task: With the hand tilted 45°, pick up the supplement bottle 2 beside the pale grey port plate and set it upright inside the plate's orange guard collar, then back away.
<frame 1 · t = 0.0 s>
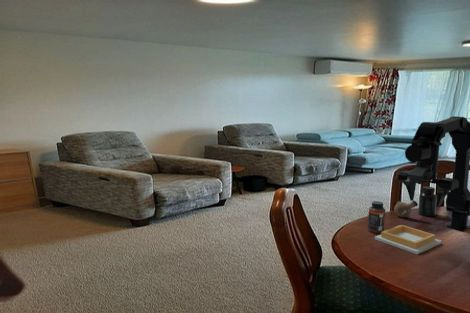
hand: (424, 203, 133), 15 cm above the table, tool pointing down, fingers open, 9 cm apart
supplement bottle: (426, 214, 168), on the table
port plate: (407, 241, 137), on the table
oil lamp: (404, 218, 163), on the table
supplement bottle 2: (375, 231, 148), on the table
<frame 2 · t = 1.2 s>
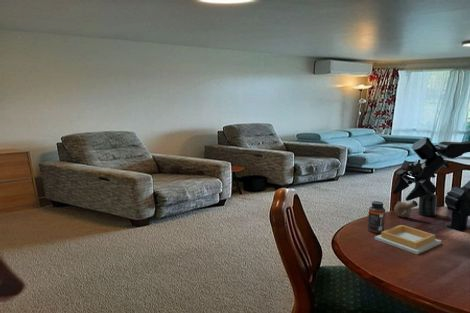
hand: (399, 196, 146), 13 cm above the table, tool tilted 45°, fingers open, 9 cm apart
nothing on the table moved.
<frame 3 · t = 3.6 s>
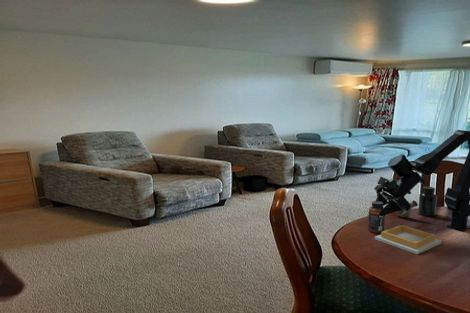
hand: (375, 212, 147), 7 cm above the table, tool tilted 45°, fingers closed on supplement bottle 2, 6 cm apart
supplement bottle 2: (375, 231, 148), on the table, touching gripper
everything else where it was.
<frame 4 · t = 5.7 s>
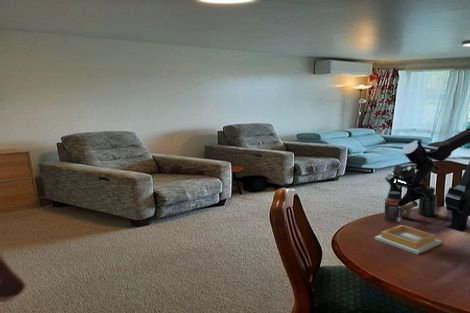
hand: (392, 203, 140), 13 cm above the table, tool tilted 45°, fingers closed on supplement bottle 2, 6 cm apart
supplement bottle 2: (392, 222, 141), point 5 cm above the table, touching gripper
everything else where it was.
when the fingers open (9 cm above the table, at t = 7.5 s): supplement bottle 2 drops 1 cm, resting on port plate.
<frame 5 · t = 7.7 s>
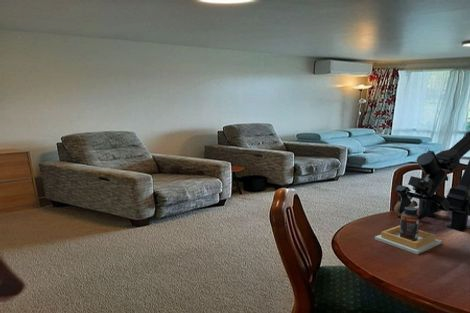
hand: (409, 216, 136), 10 cm above the table, tool tilted 45°, fingers open, 7 cm apart
supplement bottle 2: (408, 239, 137), point 1 cm above the table, touching port plate
everything else where it was.
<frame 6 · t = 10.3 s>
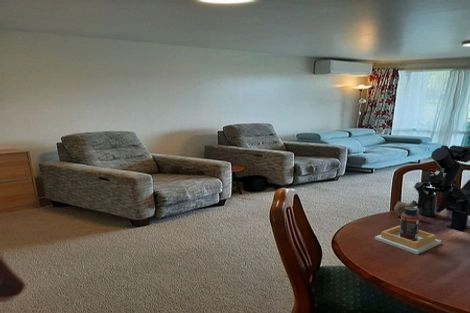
hand: (427, 210, 141), 10 cm above the table, tool tilted 40°, fingers open, 9 cm apart
nothing on the table moved.
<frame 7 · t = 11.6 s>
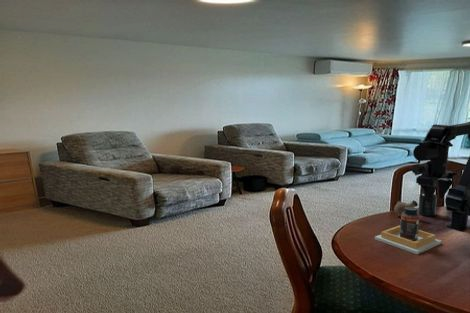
hand: (434, 200, 143), 13 cm above the table, tool pointing down, fingers open, 9 cm apart
nothing on the table moved.
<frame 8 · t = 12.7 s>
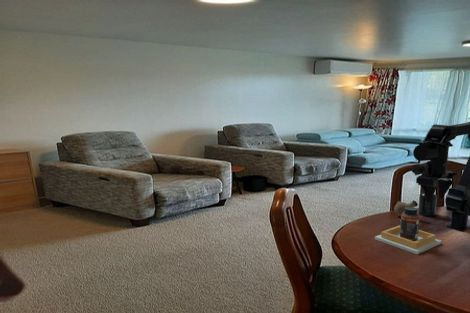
hand: (434, 200, 143), 13 cm above the table, tool pointing down, fingers open, 9 cm apart
nothing on the table moved.
at the end: supplement bottle 2 inside the target area on the port plate (0.2 cm from its centre), point 0.8 cm above the port plate's base; supplement bottle 2 tilted 0°; the gripper is holding nothing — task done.
